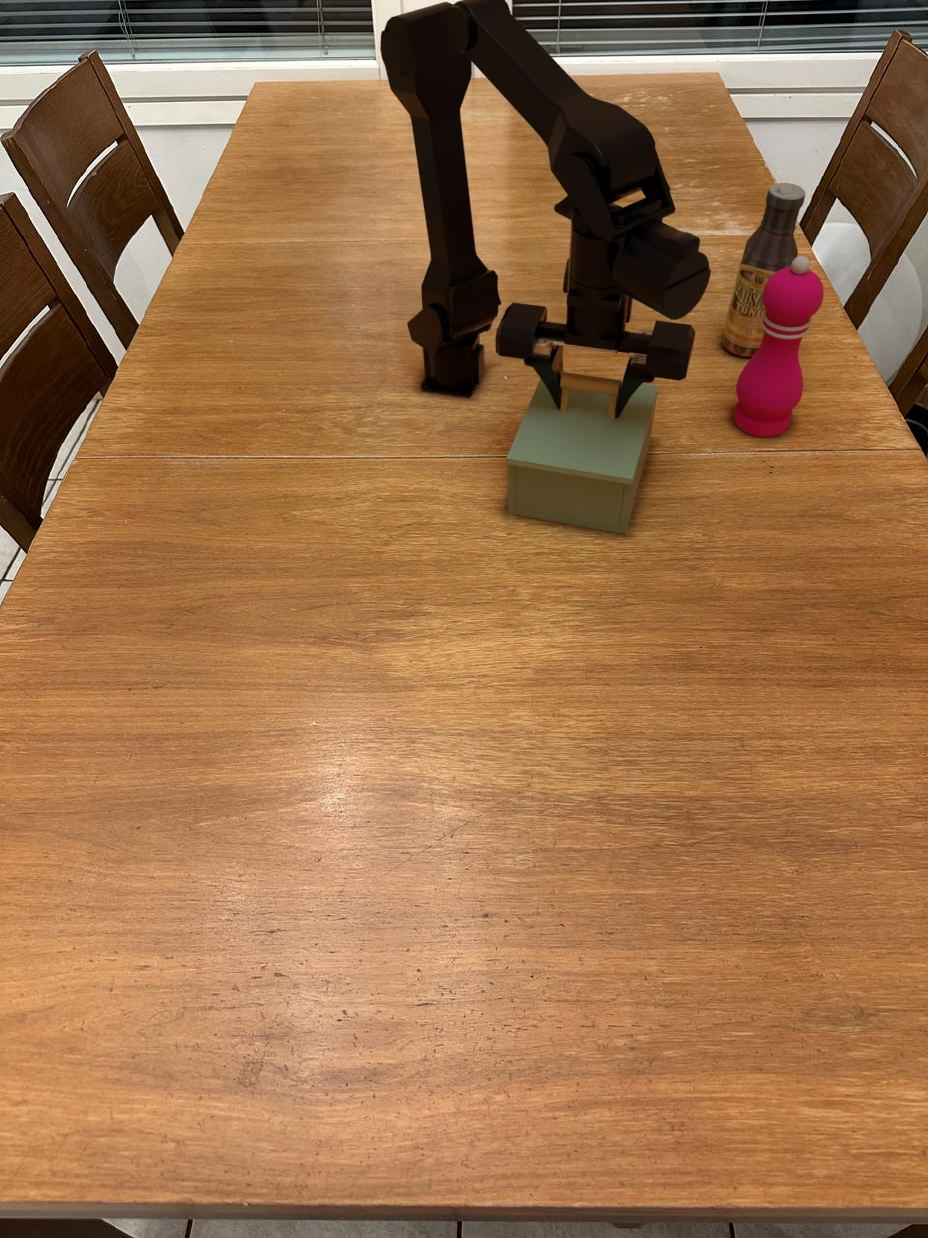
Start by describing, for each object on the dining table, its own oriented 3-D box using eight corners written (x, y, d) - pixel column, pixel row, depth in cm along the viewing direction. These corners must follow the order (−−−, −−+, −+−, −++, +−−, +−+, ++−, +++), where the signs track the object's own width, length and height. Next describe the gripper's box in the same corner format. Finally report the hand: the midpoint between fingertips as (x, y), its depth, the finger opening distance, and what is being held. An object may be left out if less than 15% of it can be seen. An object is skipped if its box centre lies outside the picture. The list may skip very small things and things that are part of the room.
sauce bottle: (713, 352, 119) (745, 195, 104) (729, 328, 122) (761, 172, 107) (765, 366, 116) (804, 206, 102) (779, 340, 120) (819, 183, 105)
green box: (625, 534, 97) (632, 484, 92) (507, 513, 100) (508, 463, 95) (650, 442, 107) (657, 392, 102) (541, 425, 110) (543, 375, 105)
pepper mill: (794, 443, 106) (842, 277, 91) (728, 436, 108) (765, 272, 93) (792, 405, 111) (838, 241, 96) (729, 399, 112) (765, 236, 97)
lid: (631, 485, 91) (638, 441, 88) (505, 464, 94) (506, 420, 90) (657, 392, 102) (664, 349, 98) (543, 375, 105) (545, 333, 101)
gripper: (713, 239, 90) (689, 378, 102) (522, 219, 94) (521, 354, 105) (698, 302, 83) (674, 442, 95) (492, 277, 87) (495, 415, 99)
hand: (589, 410), depth 99 cm, fingers closed on lid, 6 cm apart
